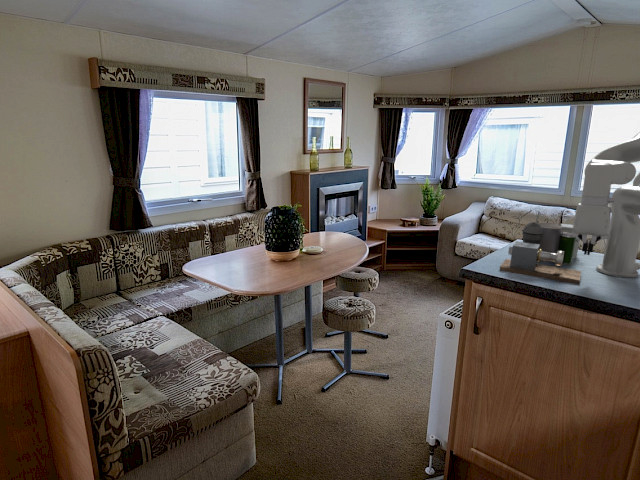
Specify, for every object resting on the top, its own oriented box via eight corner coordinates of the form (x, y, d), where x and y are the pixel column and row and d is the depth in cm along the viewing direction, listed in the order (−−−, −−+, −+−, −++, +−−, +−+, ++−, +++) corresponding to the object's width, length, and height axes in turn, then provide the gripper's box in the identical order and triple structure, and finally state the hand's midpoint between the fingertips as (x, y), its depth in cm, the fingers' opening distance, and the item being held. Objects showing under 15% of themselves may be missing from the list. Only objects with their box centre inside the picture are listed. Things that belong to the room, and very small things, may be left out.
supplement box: (556, 255, 172) (561, 226, 169) (555, 251, 178) (560, 223, 175) (576, 258, 168) (582, 228, 165) (575, 254, 175) (580, 225, 172)
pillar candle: (529, 253, 174) (534, 218, 171) (556, 256, 170) (562, 221, 166) (530, 259, 166) (535, 223, 162) (557, 263, 162) (563, 225, 158)
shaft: (562, 263, 147) (564, 249, 146) (561, 267, 143) (563, 253, 142) (509, 255, 156) (511, 242, 155) (506, 258, 152) (508, 245, 151)
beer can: (566, 265, 158) (572, 235, 155) (552, 262, 163) (557, 232, 160) (574, 263, 161) (579, 233, 158) (559, 260, 166) (564, 231, 163)
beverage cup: (521, 257, 169) (528, 209, 164) (540, 260, 164) (548, 211, 159) (516, 261, 163) (523, 211, 158) (536, 265, 159) (544, 213, 154)
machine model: (580, 275, 148) (585, 249, 145) (579, 284, 138) (584, 257, 136) (505, 262, 161) (508, 239, 159) (499, 270, 151) (502, 245, 149)
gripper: (622, 200, 135) (613, 254, 140) (569, 197, 143) (562, 248, 148) (622, 204, 129) (613, 260, 134) (567, 201, 137) (560, 253, 142)
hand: (586, 253), depth 141 cm, fingers closed
